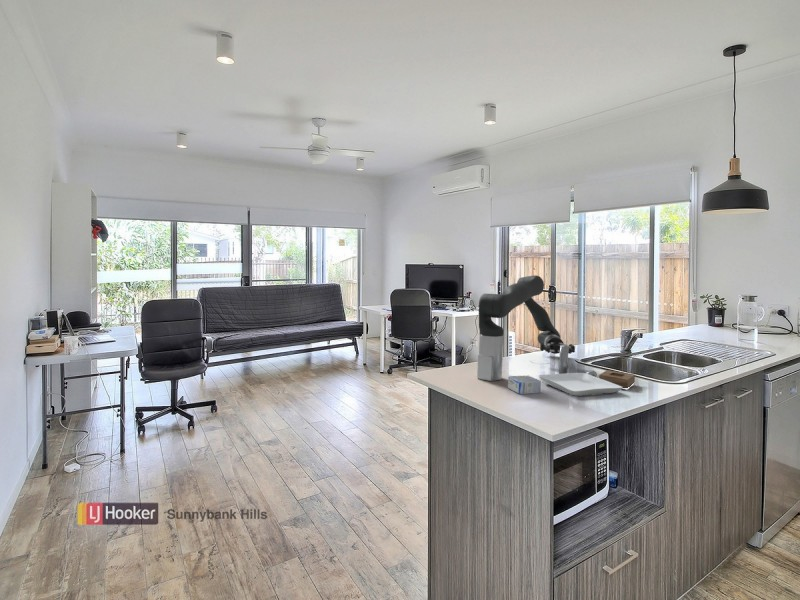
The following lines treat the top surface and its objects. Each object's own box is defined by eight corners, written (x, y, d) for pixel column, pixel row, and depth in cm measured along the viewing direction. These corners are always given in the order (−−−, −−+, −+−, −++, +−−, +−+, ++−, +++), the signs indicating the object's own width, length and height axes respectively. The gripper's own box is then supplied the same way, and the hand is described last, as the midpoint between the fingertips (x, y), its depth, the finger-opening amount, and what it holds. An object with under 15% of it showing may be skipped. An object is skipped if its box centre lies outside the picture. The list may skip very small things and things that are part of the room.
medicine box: (528, 386, 166) (507, 388, 164) (529, 374, 166) (507, 376, 164) (540, 392, 159) (518, 394, 157) (541, 380, 158) (519, 381, 156)
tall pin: (565, 379, 178) (566, 346, 177) (557, 377, 180) (558, 345, 179) (568, 377, 181) (569, 345, 180) (560, 376, 183) (561, 344, 182)
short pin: (588, 370, 177) (593, 368, 181) (582, 375, 179) (587, 373, 183) (594, 377, 176) (598, 375, 180) (588, 382, 178) (592, 379, 181)
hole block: (627, 390, 164) (627, 379, 164) (598, 385, 171) (599, 374, 170) (634, 384, 172) (635, 374, 171) (606, 380, 178) (607, 370, 178)
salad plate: (624, 395, 159) (624, 386, 158) (573, 400, 152) (573, 390, 152) (583, 380, 179) (583, 371, 178) (536, 383, 172) (537, 374, 172)
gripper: (538, 335, 208) (542, 341, 192) (570, 336, 205) (577, 342, 189) (537, 351, 208) (541, 358, 193) (569, 352, 206) (576, 360, 190)
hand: (559, 350), depth 191 cm, fingers open, 8 cm apart
